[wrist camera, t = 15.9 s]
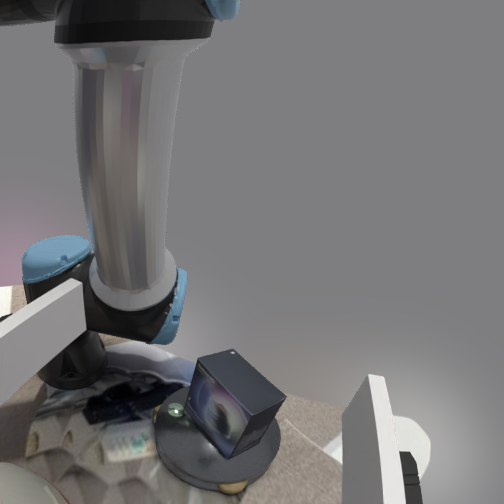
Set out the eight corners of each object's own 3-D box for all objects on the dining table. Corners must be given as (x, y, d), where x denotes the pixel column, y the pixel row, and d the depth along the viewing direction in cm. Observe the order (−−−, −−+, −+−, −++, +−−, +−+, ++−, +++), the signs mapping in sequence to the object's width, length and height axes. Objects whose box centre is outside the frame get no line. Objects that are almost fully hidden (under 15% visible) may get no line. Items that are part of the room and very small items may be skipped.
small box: (180, 408, 36) (194, 355, 33) (214, 397, 41) (233, 346, 38) (226, 462, 29) (251, 414, 27) (260, 443, 34) (289, 395, 31)
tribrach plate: (130, 460, 30) (126, 443, 28) (176, 384, 46) (177, 364, 45) (261, 504, 28) (271, 493, 26) (279, 417, 44) (288, 398, 43)
